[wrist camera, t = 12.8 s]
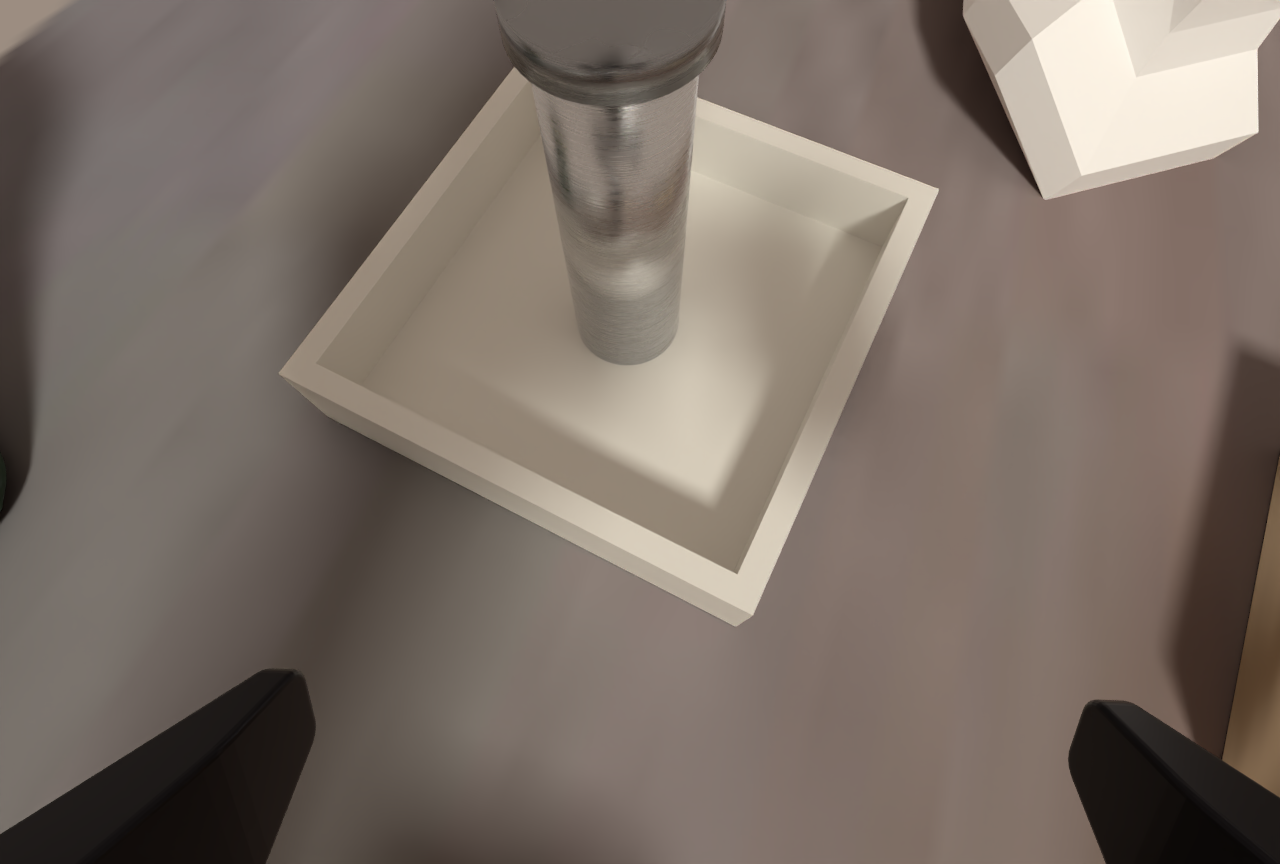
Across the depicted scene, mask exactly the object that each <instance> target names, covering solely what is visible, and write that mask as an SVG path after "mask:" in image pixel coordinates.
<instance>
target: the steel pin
mask: <svg viewBox="0 0 1280 864" xmlns="http://www.w3.org/2000/svg"><path fill="white" fill-rule="evenodd" d="M493 1H494V6H495V10H496V15H497V19H498V24H499V28H500V33H501V37H502V42H503V46H504V48H505V51H506V53H507V56H508V57H509V59H510V61H511V62H512V64H513V65H514V67H515V68H516V69H517V70H518V71H519V72H520V74H521V75H523V76H524V77H525V78H526V79H527V80H528V81H529V82H531V85H532V90H533V95H534V100H535V106H536V111H537V116H538V121H539V127H540V132H541V137H542V142H543V147H544V153H545V158H546V163H547V168H548V174H549V179H550V184H551V189H552V195H553V200H554V205H555V210H556V216H557V221H558V226H559V231H560V237H561V242H562V247H563V252H564V258H565V263H566V268H567V273H568V279H569V284H570V289H571V294H572V300H573V305H574V310H575V315H576V321H577V326H578V331H579V334H580V337H581V339H582V341H583V343H584V344H585V346H586V347H587V348H588V349H589V350H590V351H591V352H592V353H593V354H594V355H596V356H597V357H599V358H600V359H602V360H604V361H607V362H609V363H613V364H618V365H637V364H642V363H645V362H648V361H650V360H652V359H654V358H656V357H658V356H659V355H661V354H662V353H663V352H664V351H665V350H666V349H667V348H668V347H669V346H670V344H671V343H672V342H673V340H674V338H675V336H676V333H677V329H678V323H679V311H680V298H681V286H682V274H683V262H684V250H685V238H686V226H687V213H688V201H689V189H690V177H691V165H692V153H693V141H694V128H695V116H696V104H697V92H698V80H699V74H700V73H701V72H702V71H703V70H704V69H705V68H706V67H707V65H708V64H709V63H710V62H711V60H712V59H713V57H714V55H715V54H716V52H717V50H718V47H719V45H720V42H721V38H722V33H723V26H724V17H725V8H726V0H493Z"/></svg>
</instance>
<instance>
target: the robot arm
mask: <svg viewBox="0 0 1280 864" xmlns="http://www.w3.org/2000/svg"><path fill="white" fill-rule="evenodd" d="M315 730H316V723H315V717H314V713H313V709H312V705H311V700H310V696H309V692H308V688H307V684H306V680H305V677H304V675H303V674H302V673H301V672H300V671H298V670H295V669H265V670H262V671H260V672H258V673H256V674H255V675H253V676H252V677H250V678H248V679H247V680H245V681H244V682H242V683H240V684H239V685H237V686H236V687H234V688H232V689H231V690H229V691H228V692H226V693H224V694H223V695H221V696H220V697H218V698H216V699H215V700H213V701H212V702H210V703H209V704H207V705H205V706H204V707H202V708H201V709H199V710H197V711H196V712H194V713H193V714H191V715H189V716H188V717H186V718H185V719H183V720H181V721H180V722H178V723H177V724H175V725H173V726H172V727H170V728H169V729H167V730H166V731H164V732H162V733H161V734H159V735H158V736H156V737H154V738H153V739H151V740H150V741H148V742H146V743H145V744H143V745H142V746H140V747H138V748H137V749H135V750H134V751H132V752H131V753H129V754H127V755H126V756H124V757H123V758H121V759H119V760H118V761H116V762H115V763H113V764H111V765H110V766H108V767H107V768H105V769H103V770H102V771H100V772H99V773H97V774H95V775H94V776H92V777H91V778H89V779H88V780H86V781H84V782H83V783H81V784H80V785H78V786H76V787H75V788H73V789H72V790H70V791H68V792H67V793H65V794H64V795H62V796H60V797H59V798H57V799H56V800H54V801H53V802H51V803H49V804H48V805H46V806H45V807H43V808H41V809H40V810H38V811H37V812H35V813H33V814H32V815H30V816H29V817H27V818H25V819H24V820H22V821H21V822H19V823H17V824H16V825H14V826H13V827H11V828H9V829H8V830H6V831H5V832H3V833H2V834H0V864H265V863H266V861H267V859H268V856H269V854H270V851H271V849H272V846H273V844H274V841H275V839H276V836H277V833H278V831H279V828H280V826H281V823H282V821H283V818H284V816H285V813H286V810H287V808H288V805H289V803H290V800H291V798H292V795H293V793H294V790H295V787H296V785H297V782H298V780H299V777H300V775H301V772H302V770H303V767H304V764H305V762H306V759H307V757H308V754H309V752H310V749H311V746H312V744H313V741H314V736H315ZM1068 762H1069V769H1070V773H1071V776H1072V779H1073V782H1074V784H1075V787H1076V789H1077V792H1078V794H1079V797H1080V800H1081V802H1082V805H1083V807H1084V810H1085V812H1086V815H1087V817H1088V820H1089V822H1090V825H1091V827H1092V830H1093V832H1094V835H1095V837H1096V840H1097V843H1098V845H1099V848H1100V850H1101V853H1102V855H1103V858H1104V860H1105V863H1106V864H1280V797H1278V796H1277V795H1275V794H1274V793H1272V792H1271V791H1269V790H1267V789H1266V788H1264V787H1263V786H1261V785H1260V784H1258V783H1257V782H1255V781H1254V780H1252V779H1250V778H1249V777H1247V776H1246V775H1244V774H1243V773H1241V772H1240V771H1238V770H1236V769H1235V768H1233V767H1232V766H1230V765H1229V764H1227V763H1226V762H1224V761H1222V760H1221V759H1219V758H1218V757H1216V756H1215V755H1213V754H1212V753H1210V752H1208V751H1207V750H1205V749H1204V748H1202V747H1201V746H1199V745H1198V744H1196V743H1195V742H1193V741H1191V740H1190V739H1188V738H1187V737H1185V736H1184V735H1182V734H1181V733H1179V732H1177V731H1176V730H1174V729H1173V728H1171V727H1170V726H1168V725H1167V724H1165V723H1163V722H1162V721H1160V720H1159V719H1157V718H1156V717H1154V716H1153V715H1151V714H1149V713H1148V712H1146V711H1145V710H1143V709H1142V708H1140V707H1139V706H1137V705H1135V704H1133V703H1131V702H1127V701H1118V700H1092V701H1090V702H1088V703H1087V704H1086V705H1085V707H1084V709H1083V712H1082V714H1081V717H1080V720H1079V723H1078V726H1077V729H1076V732H1075V735H1074V738H1073V741H1072V744H1071V747H1070V750H1069V757H1068Z"/></svg>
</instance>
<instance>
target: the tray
mask: <svg viewBox="0 0 1280 864" xmlns="http://www.w3.org/2000/svg"><path fill="white" fill-rule="evenodd" d="M938 191H939V189H937V188H935V187H932V186H929V185H927V184H924V183H921V182H919V181H916V180H914V179H911V178H908V177H906V176H903V175H900V174H898V173H895V172H893V171H890V170H887V169H885V168H882V167H879V166H877V165H874V164H871V163H869V162H866V161H864V160H861V159H858V158H856V157H853V156H850V155H848V154H845V153H842V152H840V151H837V150H835V149H832V148H829V147H827V146H824V145H821V144H819V143H816V142H813V141H811V140H808V139H806V138H803V137H800V136H798V135H795V134H792V133H790V132H787V131H784V130H782V129H779V128H777V127H774V126H771V125H769V124H766V123H763V122H761V121H758V120H756V119H753V118H750V117H748V116H745V115H742V114H740V113H737V112H734V111H732V110H729V109H727V108H724V107H721V106H719V105H716V104H713V103H711V102H708V101H705V100H703V99H700V98H698V97H697V104H696V116H695V128H694V141H693V153H692V165H691V177H690V189H689V201H688V213H687V226H686V238H685V250H684V262H683V274H682V286H681V298H680V311H679V323H678V329H677V333H676V336H675V338H674V340H673V342H672V343H671V344H670V346H669V347H668V348H667V349H666V350H665V351H664V352H663V353H662V354H661V355H659V356H658V357H656V358H654V359H652V360H650V361H648V362H645V363H642V364H637V365H618V364H613V363H609V362H607V361H604V360H602V359H600V358H599V357H597V356H596V355H594V354H593V353H592V352H591V351H590V350H589V349H588V348H587V347H586V346H585V344H584V343H583V341H582V339H581V337H580V334H579V331H578V326H577V321H576V315H575V310H574V305H573V300H572V294H571V289H570V284H569V279H568V273H567V268H566V263H565V258H564V252H563V247H562V242H561V237H560V231H559V226H558V221H557V216H556V210H555V205H554V200H553V195H552V189H551V184H550V179H549V174H548V168H547V163H546V158H545V153H544V147H543V142H542V137H541V132H540V127H539V121H538V116H537V111H536V106H535V100H534V95H533V90H532V85H531V82H529V81H528V80H527V79H526V78H525V77H524V76H523V75H521V74H520V72H519V71H518V70H517V69H516V68H515V67H514V68H513V69H512V70H511V72H510V73H509V74H508V76H507V77H506V78H505V79H504V81H503V82H502V83H501V85H500V86H499V87H498V89H497V90H496V91H495V92H494V94H493V95H492V96H491V98H490V99H489V100H488V102H487V103H486V104H485V105H484V107H483V108H482V109H481V111H480V112H479V113H478V115H477V116H476V117H475V118H474V120H473V121H472V122H471V124H470V125H469V126H468V128H467V129H466V130H465V131H464V133H463V134H462V135H461V137H460V138H459V139H458V141H457V142H456V143H455V144H454V146H453V147H452V148H451V150H450V151H449V152H448V154H447V155H446V156H445V157H444V159H443V160H442V161H441V163H440V164H439V165H438V167H437V168H436V169H435V170H434V172H433V173H432V174H431V176H430V177H429V178H428V180H427V181H426V182H425V183H424V185H423V186H422V187H421V189H420V190H419V191H418V193H417V194H416V195H415V196H414V198H413V199H412V200H411V202H410V203H409V204H408V206H407V207H406V208H405V209H404V211H403V212H402V213H401V215H400V216H399V217H398V219H397V220H396V221H395V223H394V224H393V225H392V226H391V228H390V229H389V230H388V232H387V233H386V234H385V236H384V237H383V238H382V239H381V241H380V242H379V243H378V245H377V246H376V247H375V249H374V250H373V251H372V252H371V254H370V255H369V256H368V258H367V259H366V260H365V262H364V263H363V264H362V265H361V267H360V268H359V269H358V271H357V272H356V273H355V275H354V276H353V277H352V278H351V280H350V281H349V282H348V284H347V285H346V286H345V288H344V289H343V290H342V291H341V293H340V294H339V295H338V297H337V298H336V299H335V301H334V302H333V303H332V304H331V306H330V307H329V308H328V310H327V311H326V312H325V314H324V315H323V316H322V317H321V319H320V320H319V321H318V323H317V324H316V325H315V327H314V328H313V329H312V330H311V332H310V333H309V334H308V336H307V337H306V338H305V340H304V341H303V342H302V343H301V345H300V346H299V347H298V349H297V350H296V351H295V353H294V354H293V355H292V356H291V358H290V359H289V360H288V362H287V363H286V364H285V366H284V367H283V368H282V369H281V371H280V372H279V373H278V374H279V375H280V376H281V377H283V378H284V379H285V380H286V381H287V382H288V383H290V384H291V385H292V386H293V387H294V388H295V389H296V390H298V391H299V392H300V393H301V394H302V395H303V396H305V397H306V398H307V399H308V400H309V401H310V402H311V403H313V404H314V405H315V406H316V407H317V408H318V409H320V410H321V411H322V412H323V413H324V414H325V415H326V416H328V417H329V418H331V419H333V420H335V421H337V422H339V423H341V424H343V425H345V426H347V427H348V428H350V429H352V430H354V431H356V432H358V433H360V434H362V435H364V436H366V437H368V438H370V439H372V440H374V441H376V442H378V443H380V444H382V445H383V446H385V447H387V448H389V449H391V450H393V451H395V452H397V453H399V454H401V455H403V456H405V457H407V458H409V459H411V460H413V461H415V462H416V463H418V464H420V465H422V466H424V467H426V468H428V469H430V470H432V471H434V472H436V473H438V474H440V475H442V476H444V477H446V478H448V479H450V480H451V481H453V482H455V483H457V484H459V485H461V486H463V487H465V488H467V489H469V490H471V491H473V492H475V493H477V494H479V495H481V496H483V497H485V498H486V499H488V500H490V501H492V502H494V503H496V504H498V505H500V506H502V507H504V508H506V509H508V510H510V511H512V512H514V513H516V514H518V515H519V516H521V517H523V518H525V519H527V520H529V521H531V522H533V523H535V524H537V525H539V526H541V527H543V528H545V529H547V530H549V531H551V532H553V533H554V534H556V535H558V536H560V537H562V538H564V539H566V540H568V541H570V542H572V543H574V544H576V545H578V546H580V547H582V548H584V549H586V550H587V551H589V552H591V553H593V554H595V555H597V556H599V557H601V558H603V559H605V560H607V561H609V562H611V563H613V564H615V565H617V566H619V567H621V568H622V569H624V570H626V571H628V572H630V573H632V574H634V575H636V576H638V577H640V578H642V579H644V580H646V581H648V582H650V583H652V584H654V585H655V586H657V587H659V588H661V589H663V590H665V591H667V592H669V593H671V594H673V595H675V596H677V597H679V598H681V599H683V600H685V601H687V602H689V603H690V604H692V605H694V606H696V607H698V608H700V609H702V610H704V611H706V612H708V613H710V614H712V615H714V616H716V617H718V618H720V619H722V620H723V621H725V622H727V623H729V624H731V625H733V626H735V627H736V626H738V625H739V624H741V623H742V622H744V621H745V620H747V619H748V618H750V617H751V616H753V614H754V611H755V609H756V607H757V605H758V602H759V600H760V598H761V596H762V593H763V591H764V589H765V586H766V584H767V582H768V580H769V577H770V575H771V573H772V570H773V568H774V566H775V564H776V561H777V559H778V557H779V554H780V552H781V550H782V548H783V545H784V543H785V541H786V538H787V536H788V534H789V532H790V529H791V527H792V525H793V522H794V520H795V518H796V516H797V513H798V511H799V509H800V506H801V504H802V502H803V500H804V497H805V495H806V493H807V490H808V488H809V486H810V484H811V481H812V479H813V477H814V474H815V472H816V470H817V468H818V465H819V463H820V461H821V458H822V456H823V454H824V452H825V449H826V447H827V445H828V442H829V440H830V438H831V436H832V433H833V431H834V429H835V426H836V424H837V422H838V420H839V417H840V415H841V413H842V410H843V408H844V406H845V404H846V401H847V399H848V397H849V395H850V392H851V390H852V388H853V385H854V383H855V381H856V379H857V376H858V374H859V372H860V369H861V367H862V365H863V363H864V360H865V358H866V356H867V353H868V351H869V349H870V347H871V344H872V342H873V340H874V337H875V335H876V333H877V331H878V328H879V326H880V324H881V321H882V319H883V317H884V315H885V312H886V310H887V308H888V305H889V303H890V301H891V299H892V296H893V294H894V292H895V289H896V287H897V285H898V283H899V280H900V278H901V276H902V273H903V271H904V269H905V267H906V264H907V262H908V260H909V257H910V255H911V253H912V251H913V248H914V246H915V244H916V241H917V239H918V237H919V235H920V232H921V230H922V228H923V225H924V223H925V221H926V219H927V216H928V214H929V212H930V210H931V207H932V205H933V203H934V200H935V198H936V196H937V194H938Z"/></svg>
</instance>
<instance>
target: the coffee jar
mask: <svg viewBox="0 0 1280 864" xmlns="http://www.w3.org/2000/svg"><path fill="white" fill-rule="evenodd" d="M5 488H6V467H5V463H4V460H3V457H2V455H1V452H0V511H1V509H2V506H3V499H4V493H5Z"/></svg>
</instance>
